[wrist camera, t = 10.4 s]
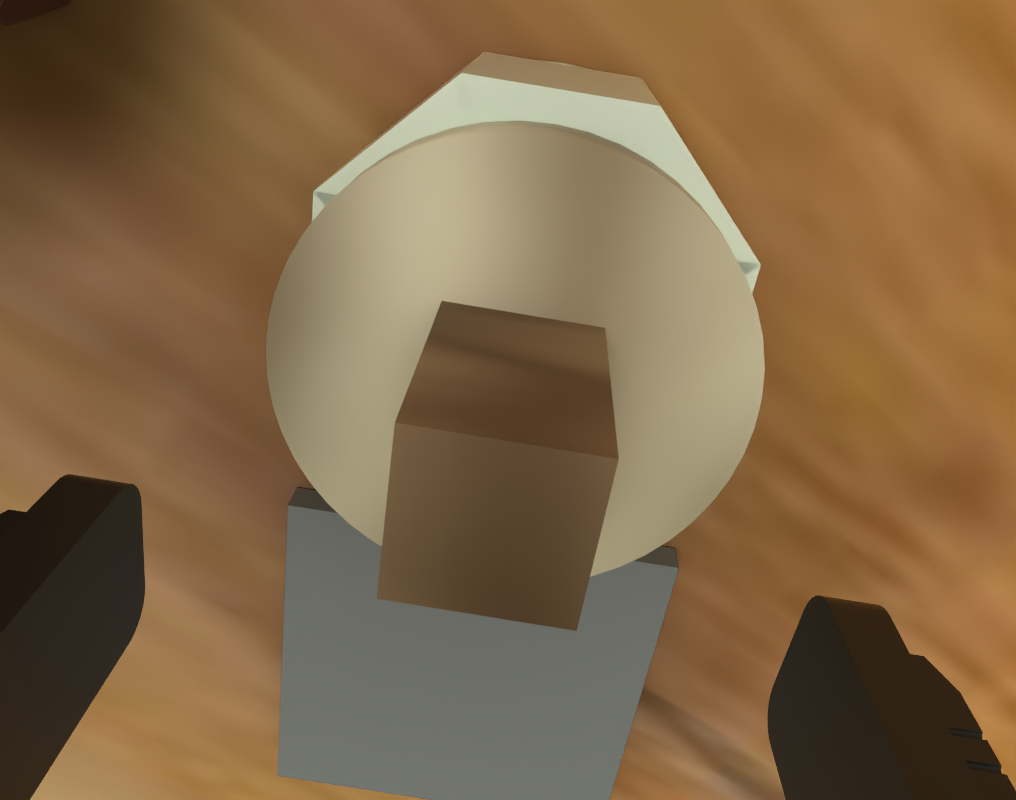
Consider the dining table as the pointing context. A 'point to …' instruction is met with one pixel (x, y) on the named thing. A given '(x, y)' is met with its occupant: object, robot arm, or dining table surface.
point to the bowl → (556, 100)
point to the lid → (514, 364)
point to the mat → (455, 678)
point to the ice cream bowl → (26, 9)
